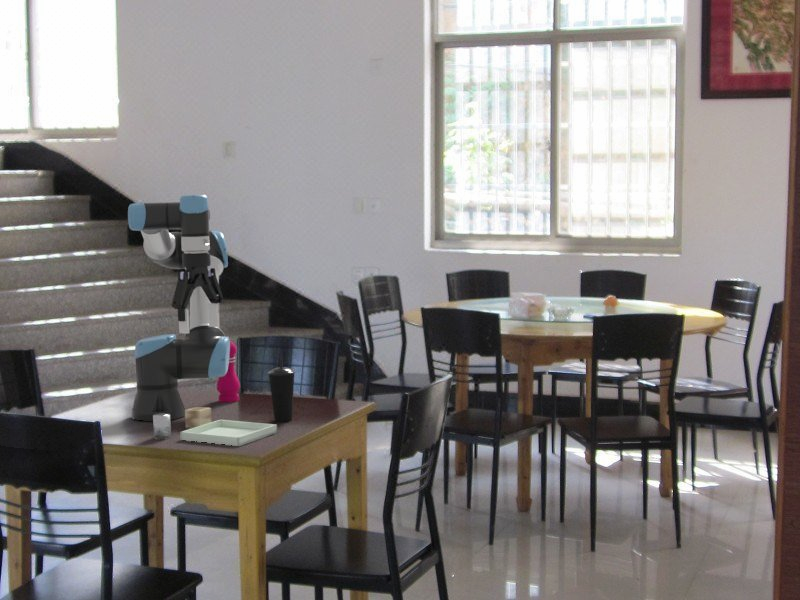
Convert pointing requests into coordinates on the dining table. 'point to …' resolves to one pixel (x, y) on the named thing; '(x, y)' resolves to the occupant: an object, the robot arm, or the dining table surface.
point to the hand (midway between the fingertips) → (199, 330)
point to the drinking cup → (282, 391)
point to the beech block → (197, 416)
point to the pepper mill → (229, 380)
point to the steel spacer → (162, 426)
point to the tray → (229, 432)
